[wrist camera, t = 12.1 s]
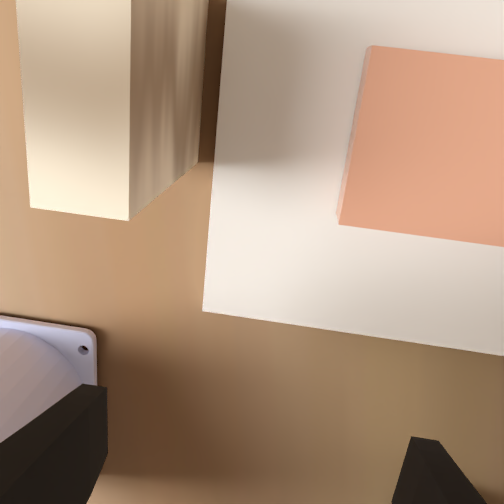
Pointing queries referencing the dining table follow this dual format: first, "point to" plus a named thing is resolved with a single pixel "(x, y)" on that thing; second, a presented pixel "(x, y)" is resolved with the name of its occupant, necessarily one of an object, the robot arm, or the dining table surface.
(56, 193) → the tall beige block
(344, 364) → the dining table surface
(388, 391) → the dining table surface
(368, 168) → the tile
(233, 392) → the dining table surface
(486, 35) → the mat
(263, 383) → the dining table surface
